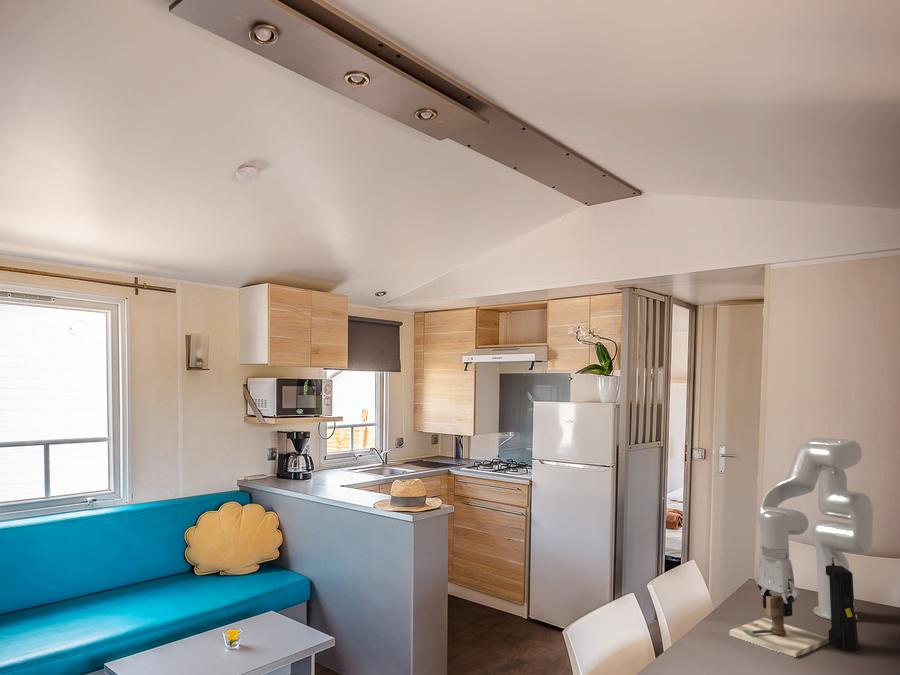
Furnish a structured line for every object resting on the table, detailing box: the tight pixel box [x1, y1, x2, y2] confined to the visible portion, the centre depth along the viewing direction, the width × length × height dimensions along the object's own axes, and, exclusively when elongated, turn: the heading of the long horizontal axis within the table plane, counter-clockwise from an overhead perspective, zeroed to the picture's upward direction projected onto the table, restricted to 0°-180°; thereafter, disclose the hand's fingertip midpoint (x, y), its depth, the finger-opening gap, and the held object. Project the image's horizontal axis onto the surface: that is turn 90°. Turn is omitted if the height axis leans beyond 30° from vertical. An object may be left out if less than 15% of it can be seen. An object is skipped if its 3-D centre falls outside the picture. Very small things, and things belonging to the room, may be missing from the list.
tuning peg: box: [752, 595, 788, 635], centre depth 190 cm, size 12×4×11 cm, turn 98°
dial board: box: [729, 617, 830, 658], centre depth 190 cm, size 20×20×2 cm
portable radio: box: [826, 559, 860, 652], centre depth 185 cm, size 8×6×25 cm
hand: (777, 611), depth 190 cm, fingers open, 6 cm apart
